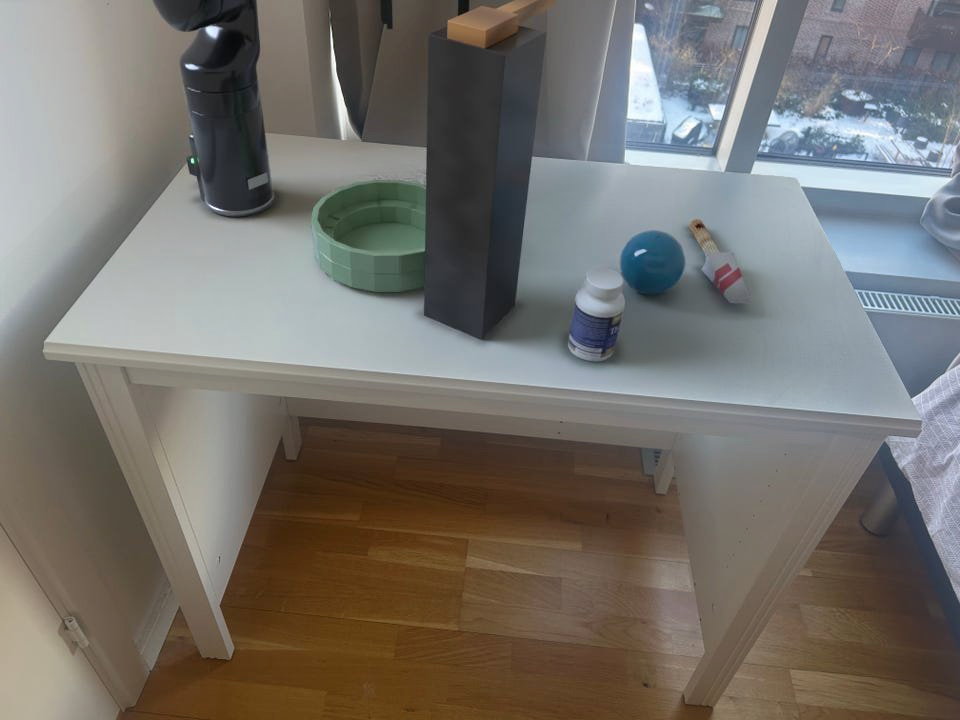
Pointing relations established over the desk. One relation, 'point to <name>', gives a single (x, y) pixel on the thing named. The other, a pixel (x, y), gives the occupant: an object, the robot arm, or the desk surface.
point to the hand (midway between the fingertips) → (424, 28)
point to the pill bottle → (597, 315)
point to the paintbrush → (721, 266)
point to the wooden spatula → (494, 22)
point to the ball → (652, 262)
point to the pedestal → (478, 174)
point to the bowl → (372, 235)
